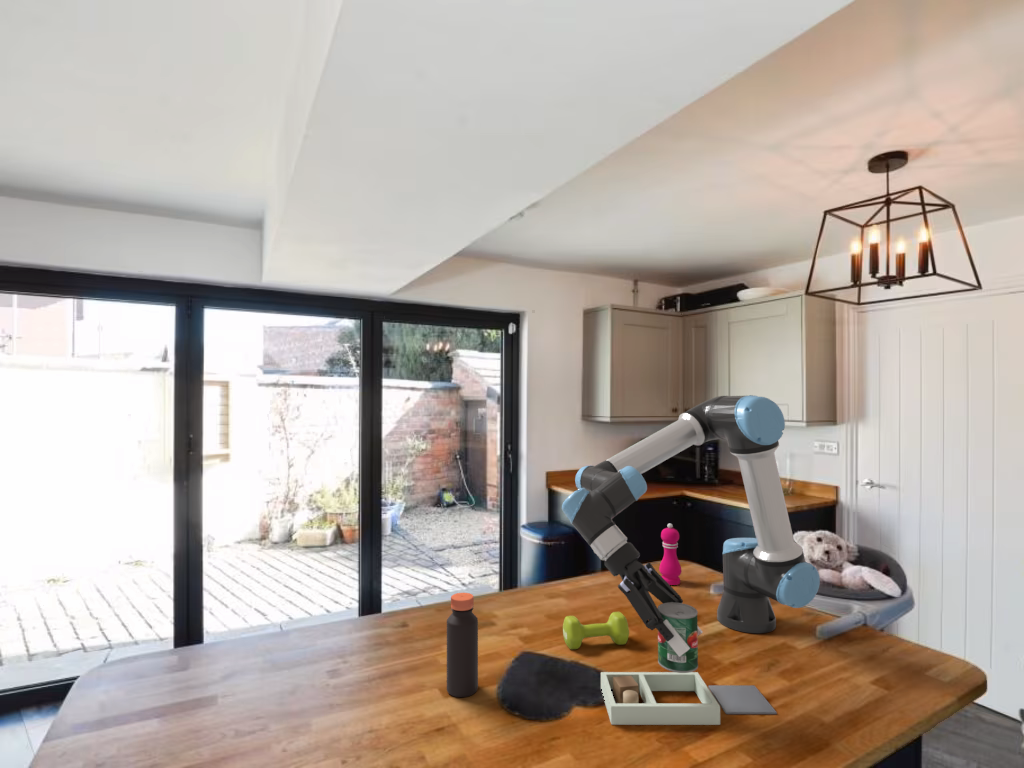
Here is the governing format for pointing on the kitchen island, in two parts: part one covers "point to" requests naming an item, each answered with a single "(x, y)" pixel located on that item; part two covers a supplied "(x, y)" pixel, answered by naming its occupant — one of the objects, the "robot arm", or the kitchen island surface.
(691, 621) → the canned tomato
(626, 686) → the walnut block
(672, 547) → the pepper mill
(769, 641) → the kitchen island surface
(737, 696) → the slate coaster
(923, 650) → the kitchen island surface
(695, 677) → the caddy
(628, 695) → the beech dowel
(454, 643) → the bottle
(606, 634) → the dumbbell
